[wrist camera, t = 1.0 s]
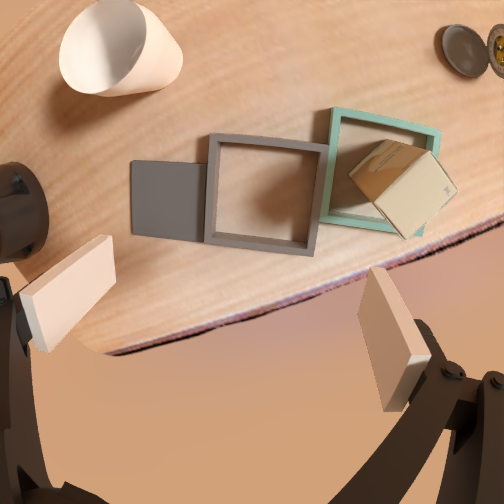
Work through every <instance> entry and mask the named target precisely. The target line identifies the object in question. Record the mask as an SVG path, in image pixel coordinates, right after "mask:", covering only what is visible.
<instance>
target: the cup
mask: <svg viewBox="0 0 504 504" xmlns="http://www.w3.org/2000/svg"><path fill="white" fill-rule="evenodd" d="M182 63H183V55H182V51H181V49H180V47H179V46H178V44H177V43H176V42H175V40H174V39H173V38H172V36H171V35H170V34H169V32H168V31H167V30H166V28H165V27H164V26H163V24H162V23H161V22H160V20H159V19H158V18H157V17H156V16H155V15H154V14H153V13H152V12H151V11H150V10H148V9H147V8H145V7H143V6H141V5H138V4H136V3H134V2H133V1H131V0H100V1H97V2H95V3H93V4H92V5H90V6H88V7H87V8H86V9H84V10H83V11H82V12H81V13H80V14H79V15H78V16H77V17H76V18H75V19H74V20H73V22H72V23H71V24H70V26H69V28H68V29H67V31H66V33H65V35H64V38H63V40H62V43H61V47H60V53H59V65H60V70H61V73H62V76H63V78H64V80H65V81H66V82H67V84H68V85H69V86H70V87H72V88H73V89H75V90H76V91H79V92H82V93H88V94H94V95H98V96H103V97H114V96H121V95H128V94H134V93H141V92H148V91H156V90H160V89H163V88H165V87H167V86H168V85H169V84H171V83H172V82H173V81H174V80H175V79H176V77H177V76H178V74H179V73H180V70H181V68H182Z"/></svg>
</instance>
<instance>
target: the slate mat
mask: <svg viewBox="0 0 504 504" xmlns="http://www.w3.org/2000/svg"><path fill="white" fill-rule="evenodd" d="M207 169H208V164H200V163H184V162H165V161H140V160H133V161H132V225H133V234H134V235H143V236H151V237H159V238H167V239H176V240H184V241H192V242H200V243H203V242H204V231H205V207H206V186H207Z"/></svg>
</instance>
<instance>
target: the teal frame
mask: <svg viewBox="0 0 504 504" xmlns="http://www.w3.org/2000/svg"><path fill="white" fill-rule="evenodd" d="M341 117H346V118H351V119H357V120H362V121H367V122H372V123H377V124H382V125H387V126H391V127H396V128H400V129H404V130H408V131H413V132H417V133H420V134H424V135H427V141H426V150H430V151H431V152H432V153H433V155H434V156H435V157H436V158H437V160H438V155H439V148H440V140H441V133H442V131H441V130H437V129H434V128H430V127H427V126H423V125H419V124H415V123H411V122H407V121H403V120H399V119H395V118H390V117H386V116H381V115H377V114H372V113H367V112H362V111H356V110H351V109H345V108H339V107H332V108H331V117H330V126H329V135H328V143H327V144H328V145H330V147H329V155H328V163H327V170H326V178H325V185H324V192H323V199H322V206H321V212H320V219H319V222H324V223H332V224H339V225H346V226H353V227H360V228H367V229H374V230H381V231H387V232H394V233H396V231H395V230H394V229H393V228H392V226H391V225H390V224H389V223H388V221H387V220H386V219H379V218H373V217H367V216H360V215H353V214H347V213H340V212H333V211H329V204H330V198H331V191H332V184H333V177H334V170H335V162H336V155H337V147H338V138H339V130H340V121H341ZM424 227H425V225H424V226H423V227H422V228H420V229H419V230H418V231H417V232H416V233H415V234H414V235H413V236H419V237H422V235H423V231H424Z"/></svg>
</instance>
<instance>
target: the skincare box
mask: <svg viewBox="0 0 504 504" xmlns="http://www.w3.org/2000/svg"><path fill="white" fill-rule="evenodd" d="M348 175H349V177H350V178H351V179H352V180H353V182H354V183H355V184H356V185H357V186H358V188H359V189H360V190H361V191H362V192H363V193H364V195H365V196H366V197H367V198H368V199H369V200H370V202H371V203H372V204H373V205H374V206H375V207H376V208H377V210H378V211H379V212H380V213H381V214H382V215H383V217H384V218H385V219H386V220H387V221H388V223H389V224H390V225H391V226H392V228H393V229H394V230H395V231H396V233H397V234H398V235H399V236H400V238H401V239H402V240H403V241H407V240H408V239H409V238H410V237H411V236H413V235H414V234H415V233H416V232H417V231H418V230H419V229H420V228H422V227H423V226H424V225H425V224H426V223H427V222H428V221H429V220H431V219H432V218H433V217H434V216H435V215H436V214H437V213H438V212H439V211H440V210H441V209H442V208H443V207H444V206H445V205H446V204H447V203H448V202H449V201H450V200H451V199H452V198H453V197H454V196H455V195H456V194H458V189H457V188H456V186H455V185H454V183H453V181H452V180H451V178H450V177H449V175H448V174H447V172H446V171H445V169H444V168H443V166H442V165H441V164H440V162H439V161H438V160H437V158H436V157H435V156H434V155H433V153H432V152H431V151H430V150H426V149H422V148H419V147H415V146H412V145H408V144H404V143H400V142H396V141H392V140H388V139H386V140H385V141H384V142H382V143H381V144H380V145H379V146H378V147H376V148H375V149H374V150H373V151H372V152H371V153H370V154H369V155H368V156H367V157H365V158H364V159H363V160H362V161H361V162H360V163H359V164H358V165H357V166H356V167H355V168H354V169H353V170H352V171H351V172H350V173H349V174H348Z"/></svg>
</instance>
